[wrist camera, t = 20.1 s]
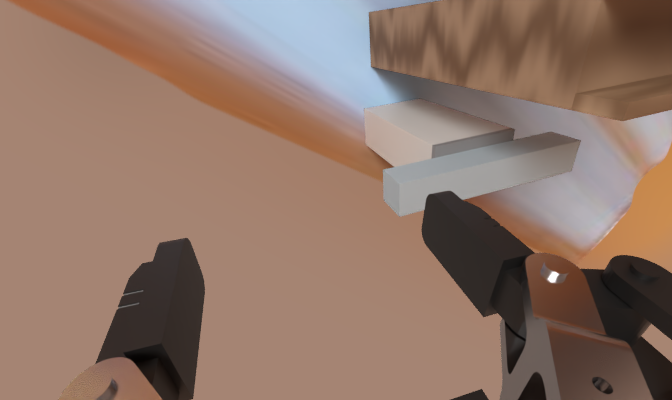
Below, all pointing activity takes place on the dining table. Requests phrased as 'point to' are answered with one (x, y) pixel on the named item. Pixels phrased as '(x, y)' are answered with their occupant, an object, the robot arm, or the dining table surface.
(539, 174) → the bar
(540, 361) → the robot arm
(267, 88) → the dining table surface
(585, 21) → the stand
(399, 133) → the block
